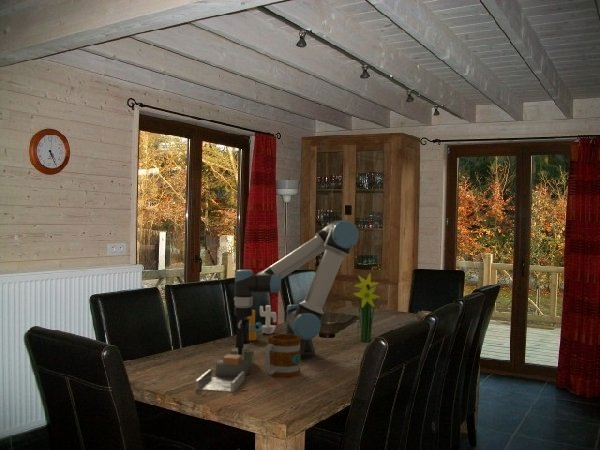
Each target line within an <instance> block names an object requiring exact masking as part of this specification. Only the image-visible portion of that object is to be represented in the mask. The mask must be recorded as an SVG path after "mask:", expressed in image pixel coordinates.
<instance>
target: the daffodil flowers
mask: <svg viewBox="0 0 600 450" xmlns="http://www.w3.org/2000/svg"><path fill="white" fill-rule="evenodd" d="M371 277H372V275H371V272H369V273H368V275H367V278H366V279H365V278H363V277H362V276H360V275H359V274H358V275H357V278H358V279H359V281H360V283H357V284H354V285H353V287H355V288H360V290H359V292H354V293H352V295H353V297H354V298H355V300H356V303H357V307H358V308H357V309H358V321H359V322H358V325H357V335H359V333H360V342H364V343H367V344H368V343H369V342H371V341H372V329H373V319H374V313H375V307H376V303H377V301H378V299H379V298H381V294H379V295H377V294H376V293H377V291H378V290H379V288H377V286H376V285H378V284H379V282H376V281H371V279H372V278H371ZM376 288H377V289H376ZM357 297H359V298H361V300H360V299H359V298H357ZM373 299H375V300H374V301H373ZM359 330H360V331H359ZM356 339H357V340H359V337H357V338H356Z"/></svg>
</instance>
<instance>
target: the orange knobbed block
mask: <svg viewBox="0 0 600 450" xmlns="http://www.w3.org/2000/svg"><path fill="white" fill-rule="evenodd" d="M248 319H249V341H248V342H250V341H251V342H254V341H257V333H259V332H260V331H261V328H262V325H263V324H262V323H261V322H260V321H258V322H256V310H255V309H252V315H251V316H249V317H248ZM256 326H258V328H256ZM260 326H261V327H260Z"/></svg>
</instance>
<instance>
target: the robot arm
mask: <svg viewBox="0 0 600 450" xmlns="http://www.w3.org/2000/svg"><path fill="white" fill-rule="evenodd" d="M314 235H315V236H314V237H313V238H312V239H310V240H308V241H306V242H305V243H303V244H302V245H301V246H299V247H298V248H296V249H294V250H293V251H292V252H290V253H288V254H287V255H285V256H284V257H282V258H281V259H280V260H278V261H276V262H275V263H273V264H272V265H270V266H269V267H267V268H266V269H263V270H261V271H259V272H258V273H256V274H254V272H253V270H252V269H237V270H236V271H235V274H234V275H235V276H234V298H233V301H234V306H235V307H234V308H233V309H234V312H233V313H234V314H233V315H234V316H235V317H238V320H237V323H236V324H235V325H236V331H235V332H236V334H235V335H236V339H235V348H236V349H237V355H242V359H243V360H244V349H248V345H250V341H249V319H248V317H249V316H251V315H252V310H253V307H252V306H253V293H270V294H271V293H272V294H274V293H280V292H281V290H282V280H283V278H285V277H286V276H288V275H289V274H291V273H292V272H295V270H297V269H299V268H300V267H302V266H303V265H305V264H306V263H308V262H309V261H311V260H312V259H314V258H315V257H317V256H318V255H320V254H321V253H323V254H322V257H321V260H320V262H319V264H318V267H317V268H316V271H315V273H314V277H313V278H312V281H311V283H310V286H309V288H308V291H307V293H306V295H305V297H304V300H303V301H301V302H299V303H298V304H288V305H287V306H286V310H285V313H286V326H285V327H286V328H285V329H286V330H285V331H286V332H285V334H294V335H297V336H301V342H300V353H301V357H300V360H301V359H303V360H304V359H311V358H314V357H315V356H316V348H315V346H314V341H313V339H314V338H315V337H317V335H319V333H320V331H321V327H322V325H321V322H322V319H323V317H324V314H325V312H324V310H323V308H324V305H325V303H326V301H327V299H328V295H329V293H330V292H331V289H332V286H333V284H334V281H335V279H336V276H337V274H338V272H339V269H340V267H341V265H342V262H343V260H344V258H346V257H348V256H349V254H350V253H351V250H352V248H353V247H354V246H355V245H356V244H357V242H358V241H359V237H360V235H359V229H358V227H357V226H356V225H355V223H353V222H351V221H349V220H346V219H343V220H342V219H341V220H339V219H338V220H333V221H332V222H330V223H328V224H327V225H326V226H324V227H323V228H322V229H320V230H319V231H318V232H316V233H315V234H314Z"/></svg>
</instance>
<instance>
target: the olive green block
mask: <svg viewBox="0 0 600 450" xmlns="http://www.w3.org/2000/svg"><path fill="white" fill-rule="evenodd" d="M230 354H233V355H237V348H236V347H235V348H232V349H231V350H230ZM254 359H255V349H254V348H253V349H252V348H250V349H249V348H247V349H244V360H246V361H248V362H249V367H251V366H252V365H253V364H255V362H254V361H255V360H254Z"/></svg>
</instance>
